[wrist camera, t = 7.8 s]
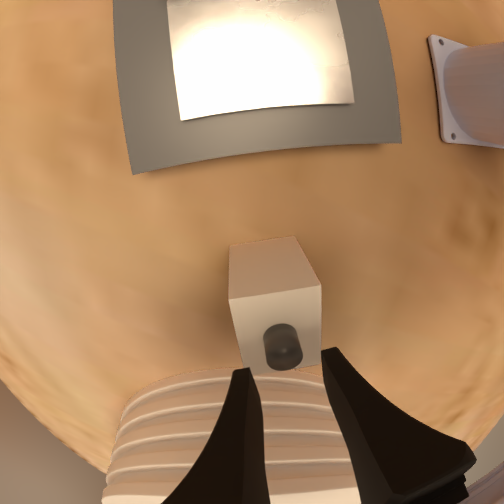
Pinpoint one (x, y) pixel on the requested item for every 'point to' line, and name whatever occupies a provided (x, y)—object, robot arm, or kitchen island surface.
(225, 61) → the block
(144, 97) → the socket
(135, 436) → the plate stack
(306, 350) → the plug
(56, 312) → the kitchen island surface
